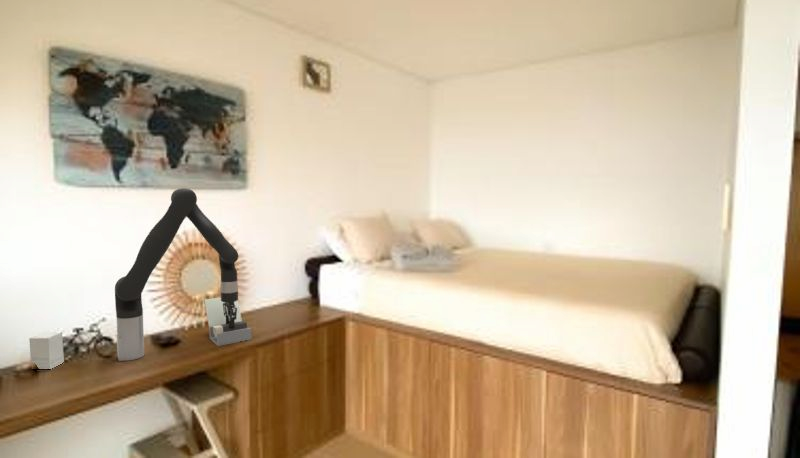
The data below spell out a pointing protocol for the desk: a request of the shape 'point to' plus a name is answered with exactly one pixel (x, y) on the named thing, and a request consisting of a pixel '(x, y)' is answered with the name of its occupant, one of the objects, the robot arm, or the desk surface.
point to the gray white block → (226, 327)
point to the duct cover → (218, 312)
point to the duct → (230, 336)
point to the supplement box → (47, 350)
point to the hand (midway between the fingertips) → (230, 326)
